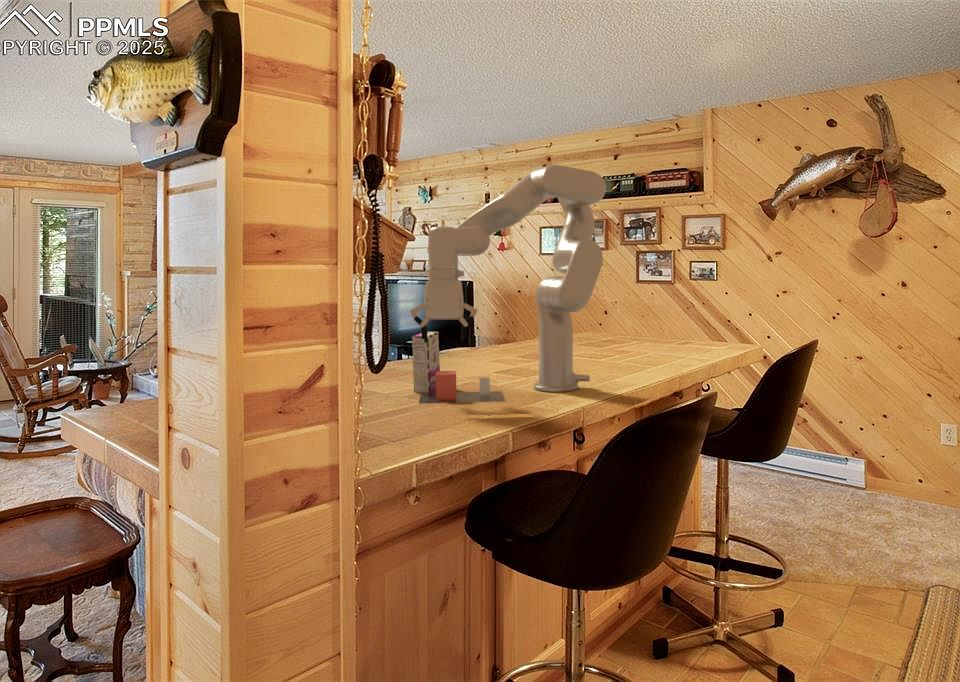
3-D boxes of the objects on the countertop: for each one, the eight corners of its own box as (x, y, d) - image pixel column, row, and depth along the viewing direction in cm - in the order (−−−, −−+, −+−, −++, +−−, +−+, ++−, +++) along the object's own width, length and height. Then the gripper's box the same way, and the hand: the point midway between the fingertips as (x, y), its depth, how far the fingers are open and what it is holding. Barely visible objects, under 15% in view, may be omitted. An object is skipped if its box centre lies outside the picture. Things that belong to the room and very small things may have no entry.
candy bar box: (424, 387, 189) (422, 331, 188) (440, 387, 188) (439, 331, 187) (412, 395, 179) (410, 335, 177) (430, 395, 178) (428, 336, 176)
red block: (456, 395, 174) (455, 370, 173) (456, 399, 168) (456, 374, 168) (436, 395, 173) (436, 371, 173) (436, 399, 168) (435, 374, 167)
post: (501, 394, 178) (501, 373, 177) (505, 404, 165) (505, 381, 164) (421, 396, 177) (420, 375, 176) (418, 406, 164) (418, 383, 163)
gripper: (476, 275, 171) (477, 339, 173) (410, 275, 170) (411, 340, 172) (477, 275, 164) (478, 343, 166) (408, 276, 163) (410, 343, 165)
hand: (444, 341), depth 169 cm, fingers open, 9 cm apart
